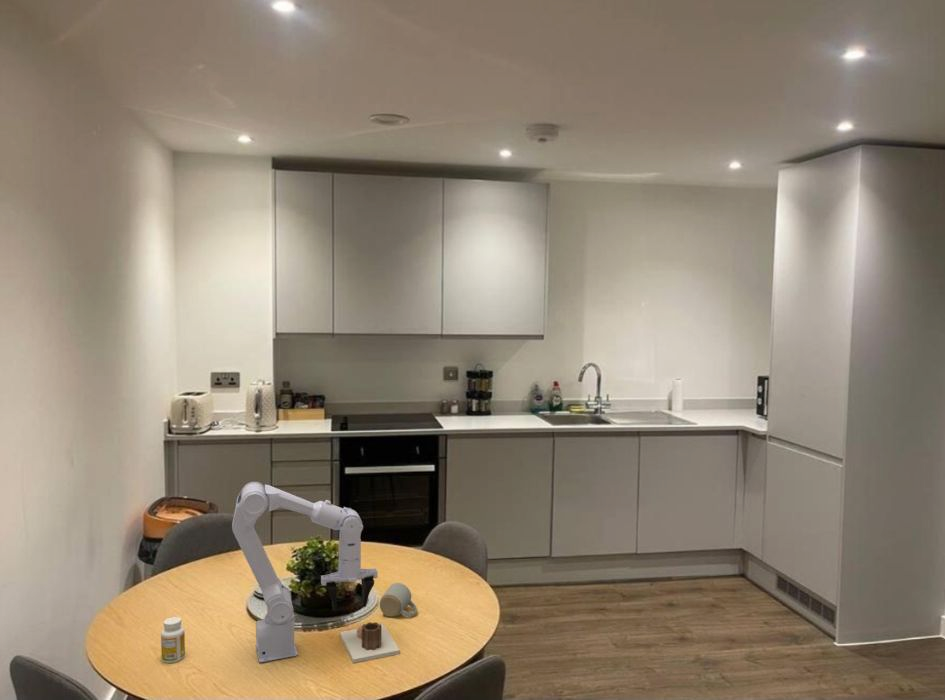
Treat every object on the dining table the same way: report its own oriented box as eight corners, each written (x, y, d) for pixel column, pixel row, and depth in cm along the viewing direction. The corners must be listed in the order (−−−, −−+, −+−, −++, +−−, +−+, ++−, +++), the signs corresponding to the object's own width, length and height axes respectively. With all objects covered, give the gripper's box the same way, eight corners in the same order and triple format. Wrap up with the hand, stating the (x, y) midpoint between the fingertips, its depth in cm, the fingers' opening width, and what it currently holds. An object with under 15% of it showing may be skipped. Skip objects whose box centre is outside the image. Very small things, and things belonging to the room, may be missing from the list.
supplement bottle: (178, 650, 176) (177, 613, 175) (189, 657, 172) (188, 619, 172) (157, 658, 172) (156, 620, 171) (168, 666, 168) (167, 627, 167)
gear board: (353, 663, 170) (353, 647, 170) (340, 635, 184) (339, 621, 184) (399, 653, 175) (399, 638, 175) (383, 627, 189) (383, 613, 189)
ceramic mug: (377, 616, 195) (378, 591, 195) (388, 604, 203) (388, 580, 202) (411, 622, 193) (412, 596, 192) (420, 609, 200) (421, 585, 200)
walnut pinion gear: (364, 651, 174) (364, 632, 174) (359, 642, 179) (359, 624, 178) (383, 648, 176) (383, 629, 176) (378, 639, 181) (378, 620, 180)
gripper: (324, 566, 173) (324, 618, 174) (380, 558, 178) (380, 609, 179) (319, 556, 179) (319, 606, 180) (373, 549, 185) (373, 598, 186)
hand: (349, 607), depth 180 cm, fingers open, 7 cm apart
